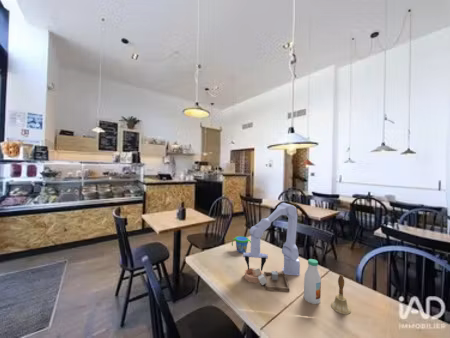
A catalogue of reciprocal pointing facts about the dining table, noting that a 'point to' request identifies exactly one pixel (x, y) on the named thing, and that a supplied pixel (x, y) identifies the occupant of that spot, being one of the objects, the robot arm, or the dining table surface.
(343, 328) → the dining table surface
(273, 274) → the blue-grey block
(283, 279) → the walnut tray
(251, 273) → the terracotta bowl
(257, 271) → the beige block
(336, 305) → the hand bell
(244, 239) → the snack cup
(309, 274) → the milk bottle
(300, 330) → the dining table surface
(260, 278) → the white block
